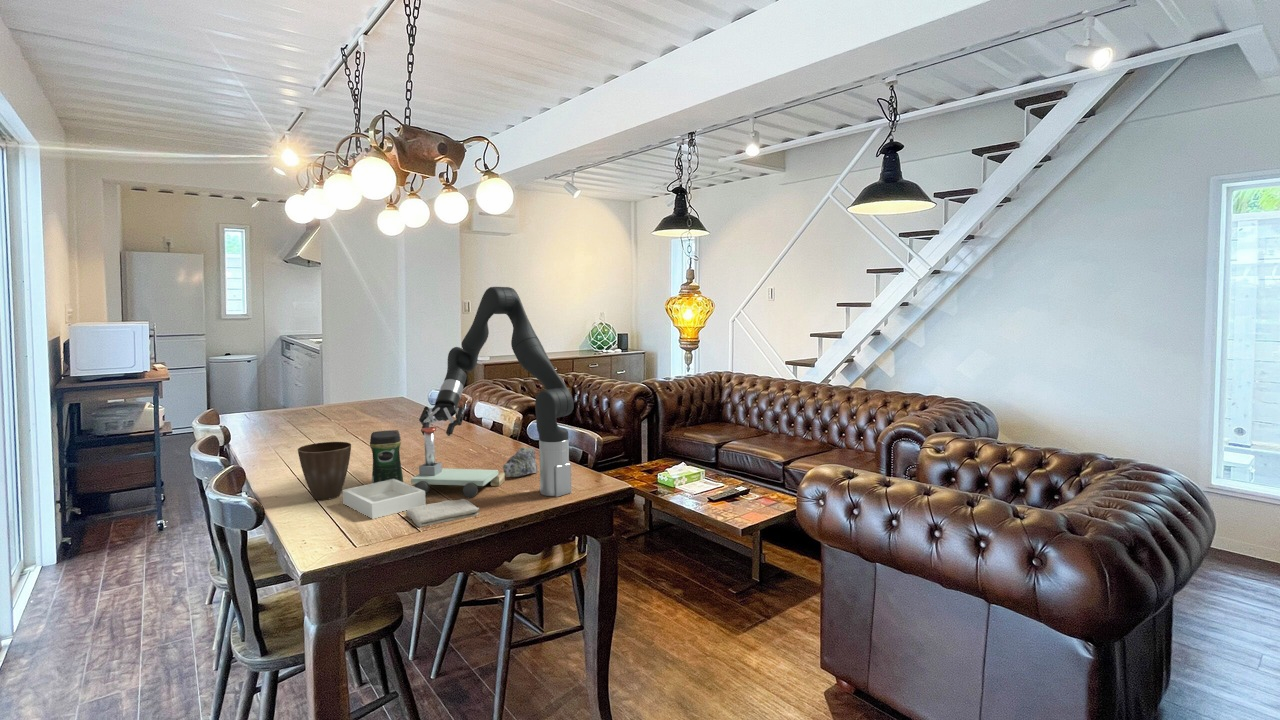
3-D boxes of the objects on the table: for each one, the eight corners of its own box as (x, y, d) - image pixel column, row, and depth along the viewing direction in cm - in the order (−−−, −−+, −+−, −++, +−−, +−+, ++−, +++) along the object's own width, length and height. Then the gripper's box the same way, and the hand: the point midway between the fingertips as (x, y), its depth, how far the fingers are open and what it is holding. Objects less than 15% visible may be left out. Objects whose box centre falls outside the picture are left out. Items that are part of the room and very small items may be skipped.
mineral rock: (504, 481, 209) (503, 452, 208) (498, 473, 219) (498, 445, 218) (541, 477, 214) (540, 448, 213) (534, 469, 223) (534, 442, 223)
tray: (425, 505, 183) (425, 490, 183) (372, 519, 171) (371, 503, 171) (394, 492, 197) (393, 478, 196) (343, 504, 185) (342, 489, 184)
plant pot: (335, 487, 203) (333, 439, 202) (363, 493, 195) (361, 444, 194) (290, 499, 190) (287, 448, 189) (318, 506, 183) (315, 454, 181)
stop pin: (440, 473, 200) (438, 428, 199) (427, 476, 197) (426, 430, 196) (433, 470, 203) (431, 426, 202) (421, 473, 200) (419, 428, 199)
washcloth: (482, 516, 175) (481, 505, 175) (418, 530, 164) (417, 519, 164) (467, 505, 185) (466, 495, 184) (405, 518, 174) (405, 507, 174)
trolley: (500, 483, 206) (499, 460, 205) (481, 498, 190) (481, 472, 189) (432, 481, 209) (431, 458, 208) (409, 495, 193) (408, 470, 192)
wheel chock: (504, 481, 208) (504, 472, 207) (499, 486, 203) (499, 476, 202) (496, 481, 208) (495, 472, 208) (490, 485, 203) (490, 476, 203)
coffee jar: (403, 481, 209) (401, 427, 208) (403, 487, 202) (400, 432, 200) (372, 484, 206) (370, 429, 205) (371, 490, 199) (368, 434, 197)
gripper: (426, 388, 212) (411, 427, 202) (465, 388, 210) (452, 428, 200) (434, 401, 218) (419, 440, 207) (472, 401, 216) (459, 440, 205)
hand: (435, 434), depth 204 cm, fingers open, 8 cm apart
